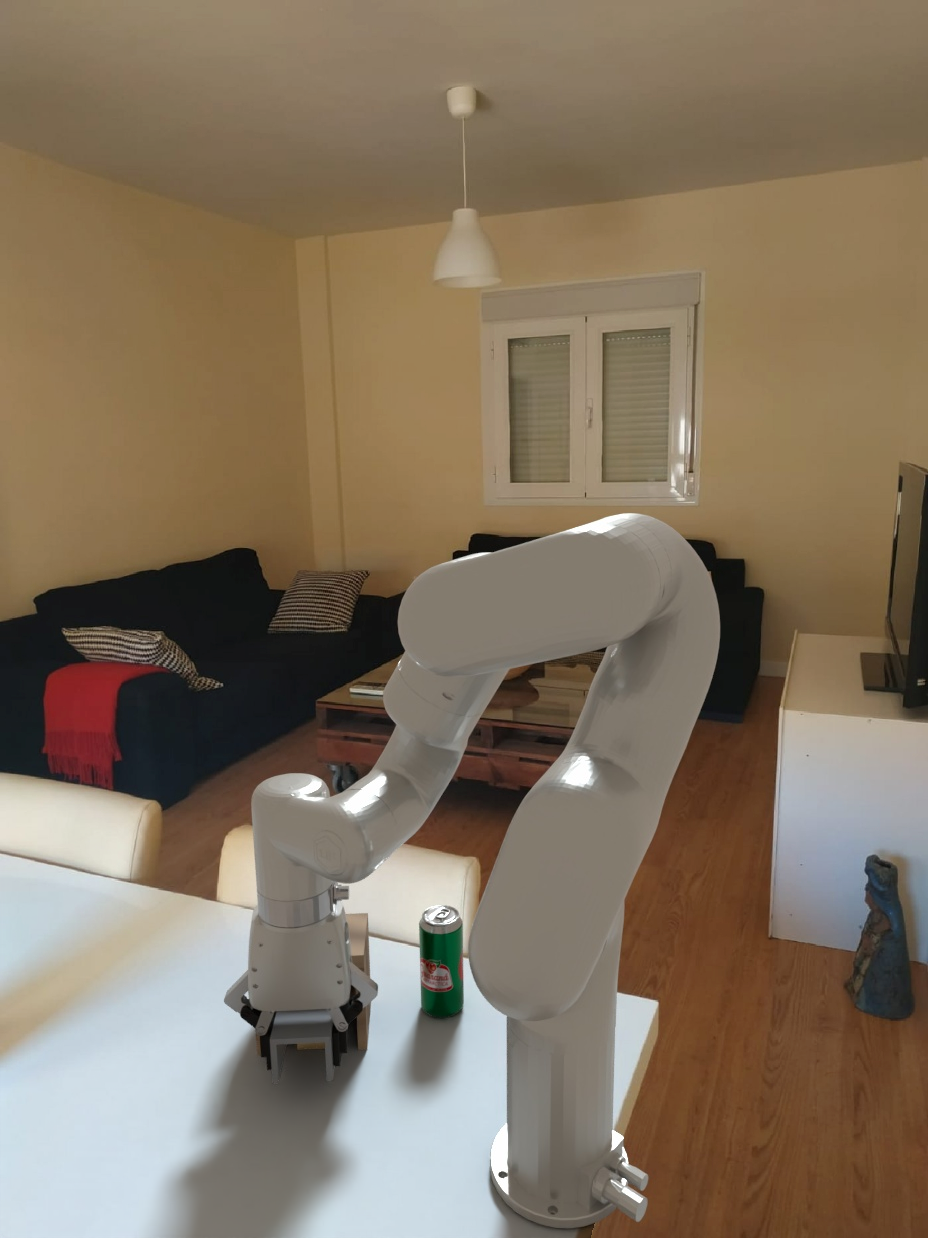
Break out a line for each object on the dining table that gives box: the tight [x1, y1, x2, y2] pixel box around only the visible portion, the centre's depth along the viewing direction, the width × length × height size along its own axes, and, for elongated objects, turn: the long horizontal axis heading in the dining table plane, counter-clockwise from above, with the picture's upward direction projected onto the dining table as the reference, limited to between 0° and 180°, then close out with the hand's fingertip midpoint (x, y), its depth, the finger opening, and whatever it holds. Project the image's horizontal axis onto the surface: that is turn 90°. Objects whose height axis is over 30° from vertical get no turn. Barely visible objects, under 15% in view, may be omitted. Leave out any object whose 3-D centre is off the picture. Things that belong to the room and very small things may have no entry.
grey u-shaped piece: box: [270, 1009, 335, 1085], centre depth 93 cm, size 14×6×5 cm, turn 3°
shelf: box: [255, 912, 372, 1056], centre depth 97 cm, size 8×12×12 cm
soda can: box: [418, 904, 465, 1019], centre depth 100 cm, size 5×5×12 cm
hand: (305, 1057), depth 89 cm, fingers closed on grey u-shaped piece, 6 cm apart
